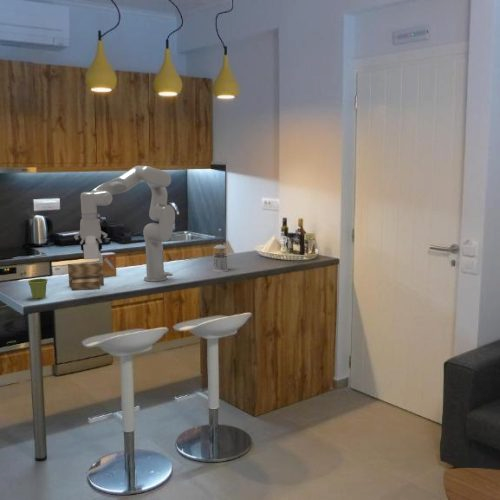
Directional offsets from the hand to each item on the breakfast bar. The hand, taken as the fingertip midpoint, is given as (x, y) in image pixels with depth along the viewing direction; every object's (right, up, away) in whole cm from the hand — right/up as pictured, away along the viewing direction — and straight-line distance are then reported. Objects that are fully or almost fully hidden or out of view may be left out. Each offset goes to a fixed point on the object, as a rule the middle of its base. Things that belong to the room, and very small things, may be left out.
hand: (91, 250), depth 315 cm
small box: (-2, -15, +43) cm, 46 cm away
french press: (+63, -12, +56) cm, 85 cm away
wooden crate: (-6, -19, +14) cm, 24 cm away
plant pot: (-24, -23, -8) cm, 34 cm away
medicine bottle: (0, -4, +1) cm, 4 cm away
